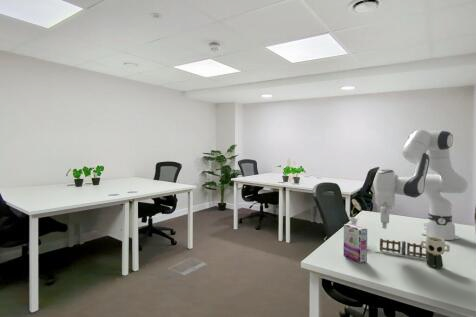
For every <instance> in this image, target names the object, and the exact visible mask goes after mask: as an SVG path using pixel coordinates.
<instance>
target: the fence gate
mask: <svg viewBox="0 0 476 317" xmlns="http://www.w3.org/2000/svg"><path fill="white" fill-rule="evenodd" d="M379 243H380V250H381V251H383V250H386V251H388V252H389V251H392V252H394V251H395V252H398V253H400V247H402V241H401V240H399V241H395V240H390V239H383V238H379ZM385 243H386V244H387V248H384V247H383V244H385ZM389 245H392V249H391V248H389ZM396 245H397V246H398V249H395V246H396Z"/></svg>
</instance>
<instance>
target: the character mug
mask: <svg viewBox="0 0 476 317" xmlns="http://www.w3.org/2000/svg"><path fill="white" fill-rule="evenodd" d="M420 244H421V247H422V249H425V250H426V251H427V252H429V253H428V256H427V260H426V263H425V264H426V265H427V266H429V267H432V268H436V269H442V268H443V267H444V265H443V264H444V262H443V257H442V255H444V254H445V252H450V251H451V249H450V248H451V246H450V244H446V240H443V239H441V238H437V237H429V236H426V238H425V240H421V241H420ZM424 244H425V245H424ZM445 247H446V248H445Z"/></svg>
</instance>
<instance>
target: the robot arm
mask: <svg viewBox="0 0 476 317" xmlns="http://www.w3.org/2000/svg"><path fill="white" fill-rule="evenodd" d="M453 143H454V136H453V134H452V133H451V132H449V131H445V130H442V131H441V130H425V129H417V130H414V131H413V132H411V133H410V134H409V135H408V138H407V140H406V142H405V143H404V146H403V148H402V152H401V153H402V156H403V158H404V159H405V160H406V161H408V162H409V163H411V164H414V165H415V169H414V174H413V175H411V176H404V175H403V176H402V175H397V174H396V173H395V171H394V170H393V169H381V170H379V171H377V174H376V178H375V180H376V181H375V189H376V192H375V205H377V207H378V208H379V210H380V211H379V212H380V222H381V223H382V229H384V230H385V229H387V225H388V224H390V210H391V209H393V207H394V206H396V195H399V196H400V195H401V196H406V197H410V198H413V199H414V198H418V197H420V196H421V195H422V194H425V196H426V197H427V199H428V206H429V210H428V214H427V218H428V219H427V221H426V222H423V229H422V231H421V235H422V236H426V237H437V238H441V239H443V240H445V241H453V240H459V236H457V235H456V225H455V224H454V223H453V216H452V207H453V206H452V203H451V201H450V200H449V199H447V198H445V197H443V196H442V195H441V193H442V194H443V193H444V194H463V193H466V191H467V190H468V187H469V183H468V180H467V179H466V178H465V177H464V176H462V175H459V173H457V172H456V171H455V169H454V168H453V166H452V161H451V155H450V148H451V147H452V146H453ZM429 169H430V170H431V171H433V172H435V173H437V174H434V173H433V174H431V173H428V170H429Z"/></svg>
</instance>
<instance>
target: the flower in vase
mask: <svg viewBox="0 0 476 317" xmlns="http://www.w3.org/2000/svg"><path fill="white" fill-rule="evenodd" d="M351 202H352V205H353V207H352V210H351V212H350V213H351V215H352V217H349V219H350V222H351V223H350V224H354V225H357V222H358V221H359V218H358V217H354V216H356V215H357V213H355V214H354V209H355V208H356V209H357V210H358V211H362V207H361V205H360V203H359V202H358V201H357V200H356V199H354V198H353V199H352V200H351ZM342 237H343V239H344V236H342Z"/></svg>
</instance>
